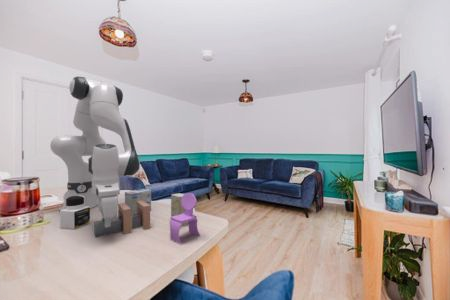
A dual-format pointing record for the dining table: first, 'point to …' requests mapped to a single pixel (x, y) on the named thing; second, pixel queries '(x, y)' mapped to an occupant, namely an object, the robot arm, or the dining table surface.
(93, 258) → the dining table surface
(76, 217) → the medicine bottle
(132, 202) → the light bulb box
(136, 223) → the steel block
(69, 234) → the dining table surface
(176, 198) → the skincare box
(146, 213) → the brick collars
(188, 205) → the toy chair
